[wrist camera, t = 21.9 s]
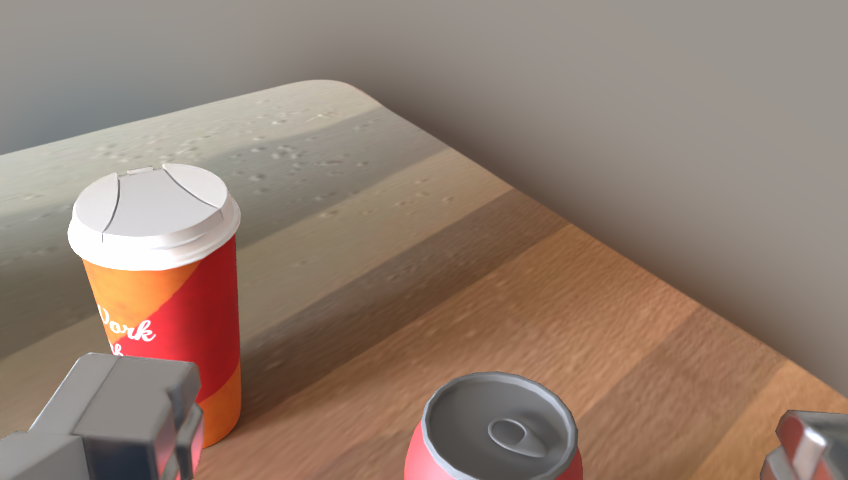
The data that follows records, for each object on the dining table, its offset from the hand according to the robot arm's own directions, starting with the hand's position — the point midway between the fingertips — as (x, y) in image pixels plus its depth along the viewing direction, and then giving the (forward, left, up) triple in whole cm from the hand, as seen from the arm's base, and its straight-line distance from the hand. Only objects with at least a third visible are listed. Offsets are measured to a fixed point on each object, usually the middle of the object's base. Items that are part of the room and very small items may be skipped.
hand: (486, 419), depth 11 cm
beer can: (-10, +6, -25) cm, 27 cm away
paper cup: (-26, -4, -25) cm, 36 cm away
